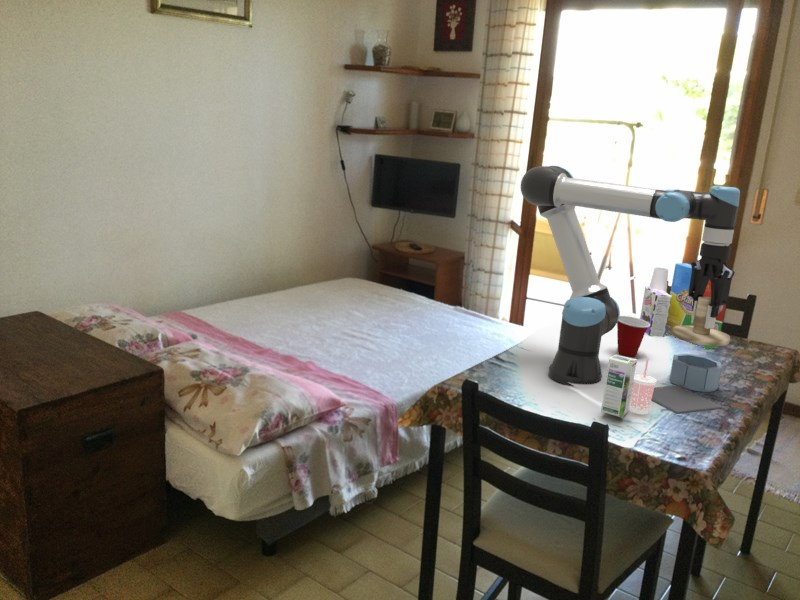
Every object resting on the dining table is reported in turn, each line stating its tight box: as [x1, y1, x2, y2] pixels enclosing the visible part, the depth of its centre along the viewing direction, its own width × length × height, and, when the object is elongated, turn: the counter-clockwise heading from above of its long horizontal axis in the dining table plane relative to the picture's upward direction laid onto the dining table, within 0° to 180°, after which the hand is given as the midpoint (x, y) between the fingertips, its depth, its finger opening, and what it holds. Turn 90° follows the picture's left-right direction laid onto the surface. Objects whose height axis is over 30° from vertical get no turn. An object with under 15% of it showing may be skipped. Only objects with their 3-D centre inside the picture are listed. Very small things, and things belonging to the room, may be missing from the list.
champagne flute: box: [648, 266, 669, 293], centre depth 253 cm, size 7×7×24 cm
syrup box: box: [600, 354, 638, 419], centre depth 172 cm, size 6×6×14 cm
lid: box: [671, 297, 731, 347], centre depth 190 cm, size 15×15×12 cm
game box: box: [665, 262, 727, 350], centre depth 240 cm, size 21×6×27 cm, turn 23°
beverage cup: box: [629, 359, 658, 415], centre depth 174 cm, size 6×6×14 cm
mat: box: [651, 385, 723, 415], centre depth 186 cm, size 16×16×1 cm
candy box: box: [639, 285, 672, 338], centre depth 250 cm, size 14×6×16 cm, turn 176°
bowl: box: [669, 353, 723, 393], centre depth 199 cm, size 13×13×7 cm
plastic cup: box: [616, 315, 650, 358], centre depth 222 cm, size 11×11×12 cm
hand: (702, 325), depth 191 cm, fingers closed on lid, 4 cm apart
